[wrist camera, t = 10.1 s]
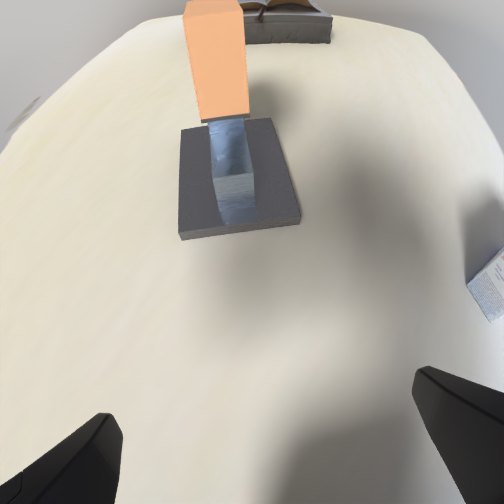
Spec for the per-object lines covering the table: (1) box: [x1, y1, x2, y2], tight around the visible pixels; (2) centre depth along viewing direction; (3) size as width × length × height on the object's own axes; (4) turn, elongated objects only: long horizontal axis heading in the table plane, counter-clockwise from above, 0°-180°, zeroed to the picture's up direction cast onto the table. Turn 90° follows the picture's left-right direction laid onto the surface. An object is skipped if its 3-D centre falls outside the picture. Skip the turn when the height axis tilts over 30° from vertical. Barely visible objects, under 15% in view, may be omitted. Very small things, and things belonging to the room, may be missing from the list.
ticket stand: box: [178, 118, 301, 240], centre depth 24 cm, size 14×10×12 cm
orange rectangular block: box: [182, 0, 250, 123], centre depth 16 cm, size 5×3×7 cm, turn 8°
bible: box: [237, 0, 333, 45], centre depth 48 cm, size 23×27×10 cm
